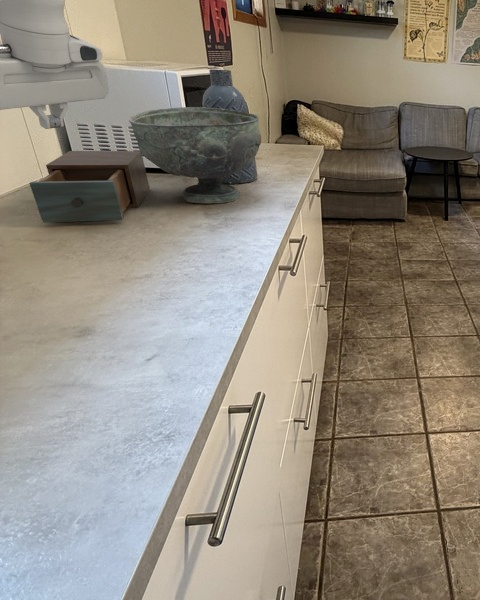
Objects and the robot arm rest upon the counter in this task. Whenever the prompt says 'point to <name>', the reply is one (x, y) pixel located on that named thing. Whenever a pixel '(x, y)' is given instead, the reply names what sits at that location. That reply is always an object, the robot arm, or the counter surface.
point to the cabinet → (109, 161)
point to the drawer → (82, 195)
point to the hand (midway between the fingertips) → (52, 126)
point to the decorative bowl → (199, 146)
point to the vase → (230, 99)
